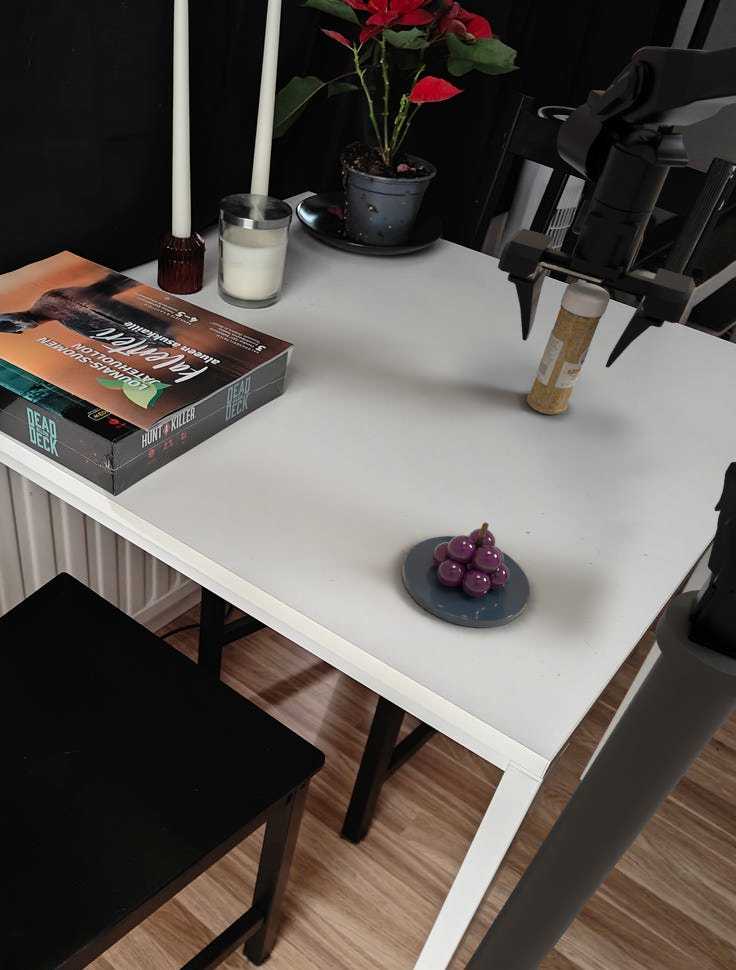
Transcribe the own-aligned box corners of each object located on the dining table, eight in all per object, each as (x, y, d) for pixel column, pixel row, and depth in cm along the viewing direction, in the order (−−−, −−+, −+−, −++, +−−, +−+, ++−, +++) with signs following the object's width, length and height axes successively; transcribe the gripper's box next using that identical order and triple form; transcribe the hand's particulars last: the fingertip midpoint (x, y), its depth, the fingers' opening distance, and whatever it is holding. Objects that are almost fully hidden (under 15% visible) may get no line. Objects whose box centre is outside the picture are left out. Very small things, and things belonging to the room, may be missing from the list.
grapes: (541, 572, 80) (567, 513, 76) (506, 646, 73) (532, 586, 68) (427, 527, 83) (445, 467, 78) (383, 594, 76) (400, 532, 71)
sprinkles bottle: (564, 420, 100) (610, 303, 90) (523, 410, 100) (565, 293, 91) (566, 400, 103) (612, 286, 93) (527, 391, 103) (568, 276, 94)
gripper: (732, 204, 89) (664, 351, 100) (550, 156, 93) (505, 300, 105) (717, 238, 81) (646, 392, 92) (521, 184, 86) (475, 336, 97)
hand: (566, 352), depth 97 cm, fingers open, 9 cm apart
